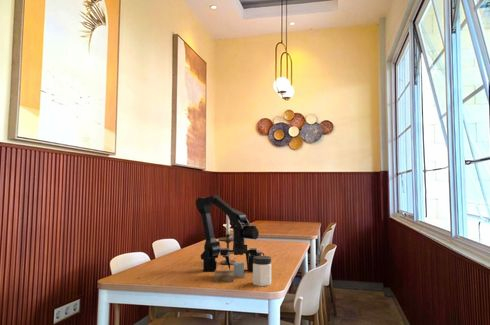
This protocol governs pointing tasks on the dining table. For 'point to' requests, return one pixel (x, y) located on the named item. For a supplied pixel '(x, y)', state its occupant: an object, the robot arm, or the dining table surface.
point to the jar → (262, 270)
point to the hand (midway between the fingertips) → (238, 269)
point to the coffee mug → (252, 261)
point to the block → (238, 269)
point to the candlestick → (227, 240)
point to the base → (224, 276)
